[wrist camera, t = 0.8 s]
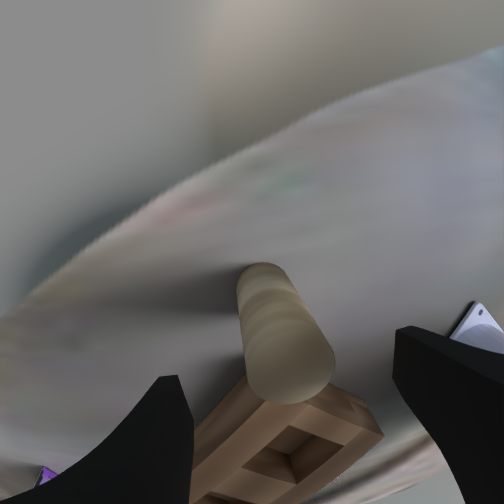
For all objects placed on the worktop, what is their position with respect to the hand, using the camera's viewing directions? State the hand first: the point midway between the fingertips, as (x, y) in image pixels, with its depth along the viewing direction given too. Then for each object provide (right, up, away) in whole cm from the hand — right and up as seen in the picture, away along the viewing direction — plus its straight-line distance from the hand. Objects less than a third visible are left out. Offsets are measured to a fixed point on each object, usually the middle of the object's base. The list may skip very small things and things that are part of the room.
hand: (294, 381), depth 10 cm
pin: (-1, +2, +8) cm, 9 cm away
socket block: (-2, -11, +11) cm, 16 cm away
